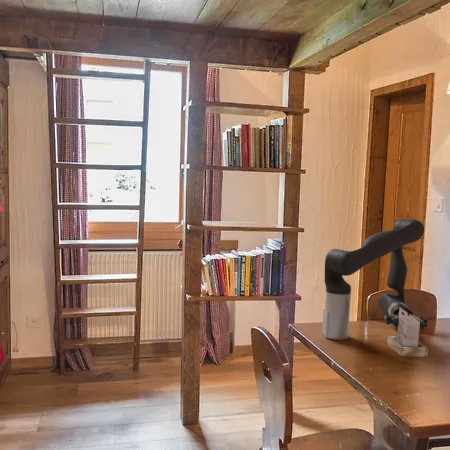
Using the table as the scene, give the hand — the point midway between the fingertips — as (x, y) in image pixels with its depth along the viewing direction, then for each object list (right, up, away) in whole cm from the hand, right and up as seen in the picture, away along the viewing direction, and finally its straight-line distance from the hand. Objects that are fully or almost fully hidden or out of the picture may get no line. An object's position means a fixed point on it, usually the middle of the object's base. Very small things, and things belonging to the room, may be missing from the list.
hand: (410, 325), depth 177 cm
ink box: (0, -10, +3) cm, 10 cm away
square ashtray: (0, -9, +3) cm, 10 cm away
